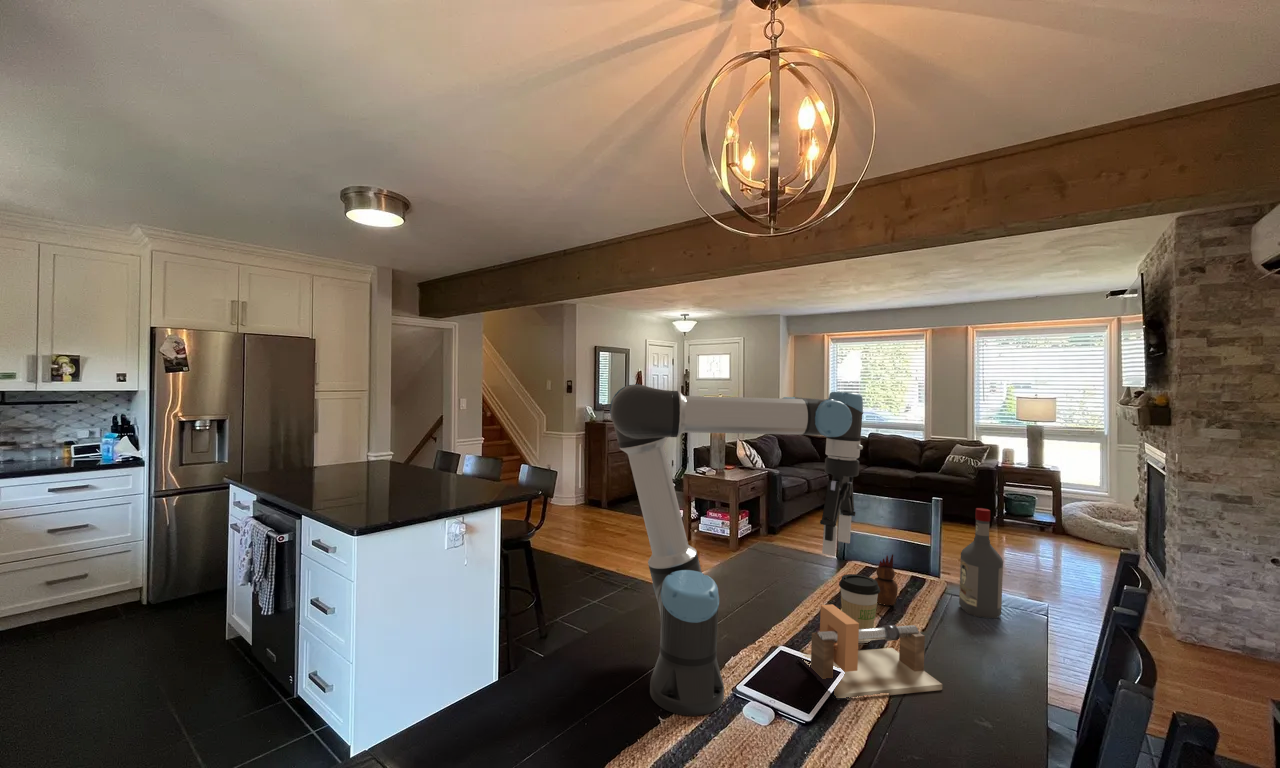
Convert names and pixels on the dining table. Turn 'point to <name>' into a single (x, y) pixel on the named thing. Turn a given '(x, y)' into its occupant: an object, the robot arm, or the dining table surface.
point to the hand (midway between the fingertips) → (836, 548)
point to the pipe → (875, 633)
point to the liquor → (981, 573)
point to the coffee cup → (859, 599)
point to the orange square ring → (841, 636)
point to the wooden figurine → (886, 582)
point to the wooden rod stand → (877, 668)
